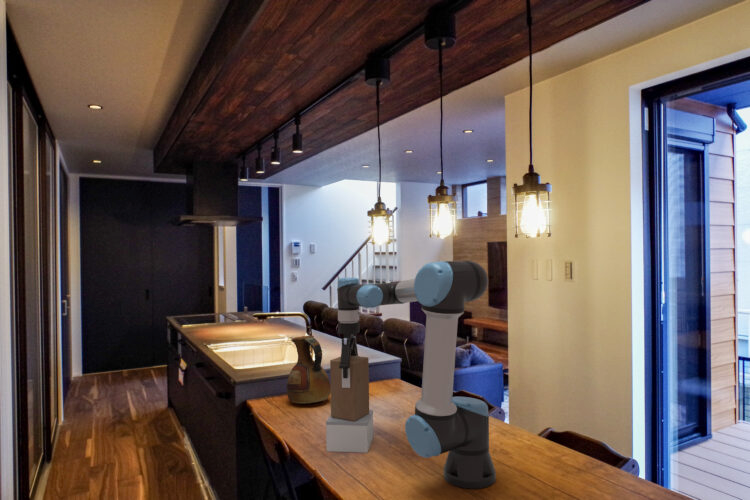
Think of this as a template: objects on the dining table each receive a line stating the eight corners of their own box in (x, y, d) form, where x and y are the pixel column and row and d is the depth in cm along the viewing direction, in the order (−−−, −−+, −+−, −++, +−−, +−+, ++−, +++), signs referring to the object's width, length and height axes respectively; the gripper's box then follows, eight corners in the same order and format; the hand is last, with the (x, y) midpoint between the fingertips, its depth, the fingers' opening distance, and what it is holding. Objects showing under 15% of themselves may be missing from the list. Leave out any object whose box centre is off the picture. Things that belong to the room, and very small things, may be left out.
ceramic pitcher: (307, 393, 241) (306, 330, 241) (340, 400, 230) (339, 334, 230) (277, 404, 225) (276, 336, 226) (310, 411, 214) (309, 341, 214)
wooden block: (354, 422, 170) (353, 362, 170) (330, 417, 175) (329, 359, 175) (369, 413, 179) (369, 357, 179) (346, 409, 184) (345, 354, 184)
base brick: (367, 452, 169) (366, 422, 169) (326, 451, 171) (326, 421, 171) (373, 437, 183) (372, 409, 183) (335, 436, 185) (335, 408, 185)
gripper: (352, 326, 164) (354, 392, 164) (365, 317, 189) (366, 373, 189) (330, 326, 165) (331, 391, 165) (345, 317, 190) (346, 373, 190)
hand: (349, 382), depth 177 cm, fingers open, 13 cm apart
